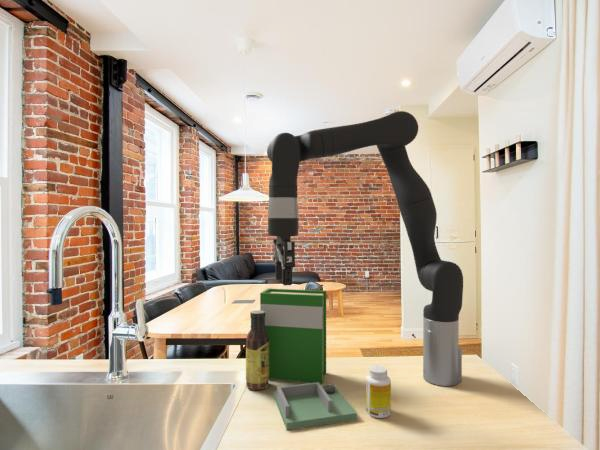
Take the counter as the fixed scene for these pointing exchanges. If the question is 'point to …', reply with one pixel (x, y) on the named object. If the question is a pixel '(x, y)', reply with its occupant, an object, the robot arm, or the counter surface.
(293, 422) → the green plate with knob
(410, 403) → the counter surface
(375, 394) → the supplement bottle
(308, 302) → the hardback book
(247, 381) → the sauce bottle
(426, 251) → the robot arm
